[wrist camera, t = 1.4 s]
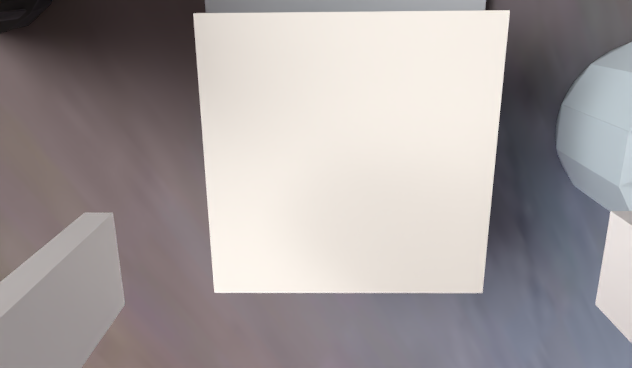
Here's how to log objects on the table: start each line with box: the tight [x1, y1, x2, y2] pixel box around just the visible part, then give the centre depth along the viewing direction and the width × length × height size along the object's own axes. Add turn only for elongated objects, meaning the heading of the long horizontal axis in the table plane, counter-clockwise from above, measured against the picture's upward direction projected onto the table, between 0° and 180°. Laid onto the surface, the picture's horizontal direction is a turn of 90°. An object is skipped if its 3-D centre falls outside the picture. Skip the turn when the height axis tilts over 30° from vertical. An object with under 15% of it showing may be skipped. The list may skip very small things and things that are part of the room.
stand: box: [205, 0, 486, 13], centre depth 27 cm, size 16×14×6 cm
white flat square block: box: [193, 10, 510, 293], centre depth 23 cm, size 12×12×2 cm
